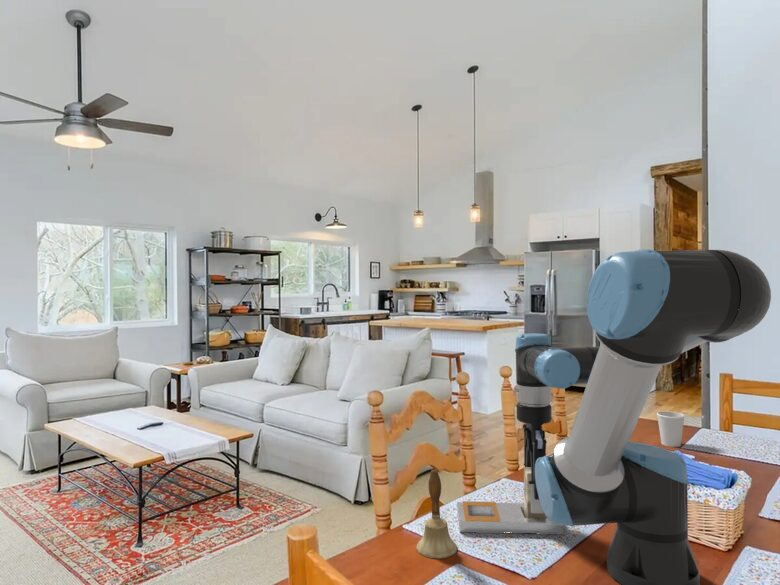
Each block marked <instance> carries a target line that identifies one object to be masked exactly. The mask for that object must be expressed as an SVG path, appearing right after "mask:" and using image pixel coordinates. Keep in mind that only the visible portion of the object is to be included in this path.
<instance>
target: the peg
mask: <svg viewBox="0 0 780 585" xmlns="http://www.w3.org/2000/svg"><path fill="white" fill-rule="evenodd" d="M531 480H532V477H531V467H525V466H524V467H523V498H524V499H523V503H524V518H546V515H545V513H531V492H530V484H529V483H528V481H531Z"/></svg>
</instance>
